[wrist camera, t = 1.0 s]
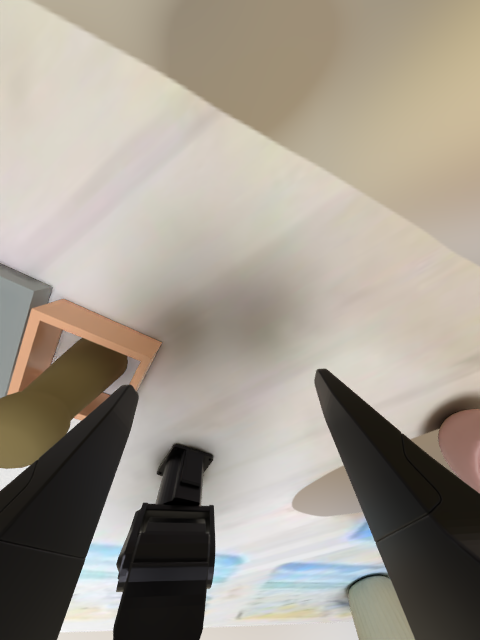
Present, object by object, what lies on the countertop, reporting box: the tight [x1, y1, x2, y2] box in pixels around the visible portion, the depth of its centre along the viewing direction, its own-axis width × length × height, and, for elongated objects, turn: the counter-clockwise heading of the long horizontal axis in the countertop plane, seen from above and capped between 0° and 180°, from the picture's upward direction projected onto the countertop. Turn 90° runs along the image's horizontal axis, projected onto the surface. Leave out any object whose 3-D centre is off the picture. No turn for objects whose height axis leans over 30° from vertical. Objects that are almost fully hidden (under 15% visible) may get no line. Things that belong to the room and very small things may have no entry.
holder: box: [7, 299, 162, 420], centre depth 20 cm, size 11×11×4 cm
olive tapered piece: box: [0, 338, 128, 469], centre depth 17 cm, size 6×6×11 cm
